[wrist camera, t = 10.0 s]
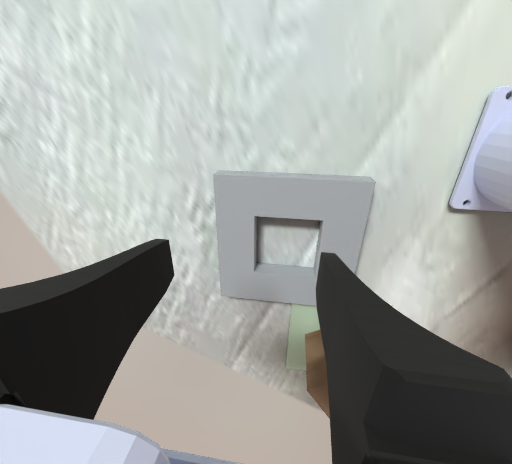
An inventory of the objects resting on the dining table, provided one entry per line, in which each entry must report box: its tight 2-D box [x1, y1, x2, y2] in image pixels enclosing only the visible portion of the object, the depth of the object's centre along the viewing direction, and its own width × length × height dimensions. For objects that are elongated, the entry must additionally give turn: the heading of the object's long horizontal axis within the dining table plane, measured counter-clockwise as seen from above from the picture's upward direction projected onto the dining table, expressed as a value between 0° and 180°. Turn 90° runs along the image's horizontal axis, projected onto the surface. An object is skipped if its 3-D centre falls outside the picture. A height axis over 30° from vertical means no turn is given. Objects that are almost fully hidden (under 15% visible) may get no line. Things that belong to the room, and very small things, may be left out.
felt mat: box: [286, 304, 320, 371], centre depth 27 cm, size 10×10×1 cm
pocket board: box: [213, 170, 376, 306], centre depth 22 cm, size 12×12×2 cm
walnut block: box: [305, 330, 330, 418], centre depth 24 cm, size 4×4×6 cm
